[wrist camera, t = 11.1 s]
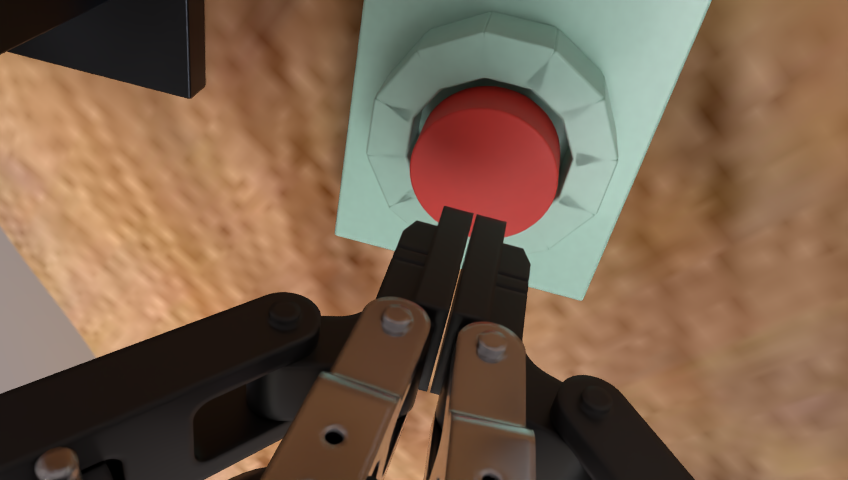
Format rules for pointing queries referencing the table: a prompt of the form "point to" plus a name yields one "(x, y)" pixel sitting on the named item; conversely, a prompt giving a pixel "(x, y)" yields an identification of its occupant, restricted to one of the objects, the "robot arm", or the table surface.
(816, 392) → the table surface
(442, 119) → the button
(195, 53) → the bracket
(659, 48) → the button box
